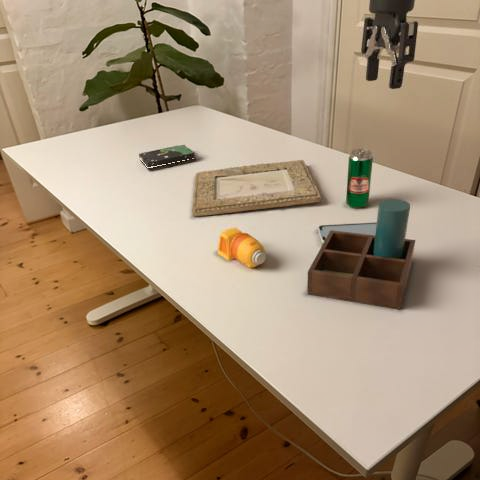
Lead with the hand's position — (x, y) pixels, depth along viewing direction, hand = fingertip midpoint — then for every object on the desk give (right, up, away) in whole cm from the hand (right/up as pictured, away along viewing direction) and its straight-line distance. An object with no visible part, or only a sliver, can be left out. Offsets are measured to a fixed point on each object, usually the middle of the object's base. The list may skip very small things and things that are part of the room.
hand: (382, 84), depth 88 cm
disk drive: (-49, +3, +53) cm, 72 cm away
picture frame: (-24, -12, +30) cm, 40 cm away
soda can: (0, -18, +19) cm, 26 cm away
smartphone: (-3, -28, +7) cm, 29 cm away
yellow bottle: (-26, -33, +3) cm, 43 cm away
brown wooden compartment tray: (-5, -37, -5) cm, 38 cm away
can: (-1, -35, -4) cm, 36 cm away
